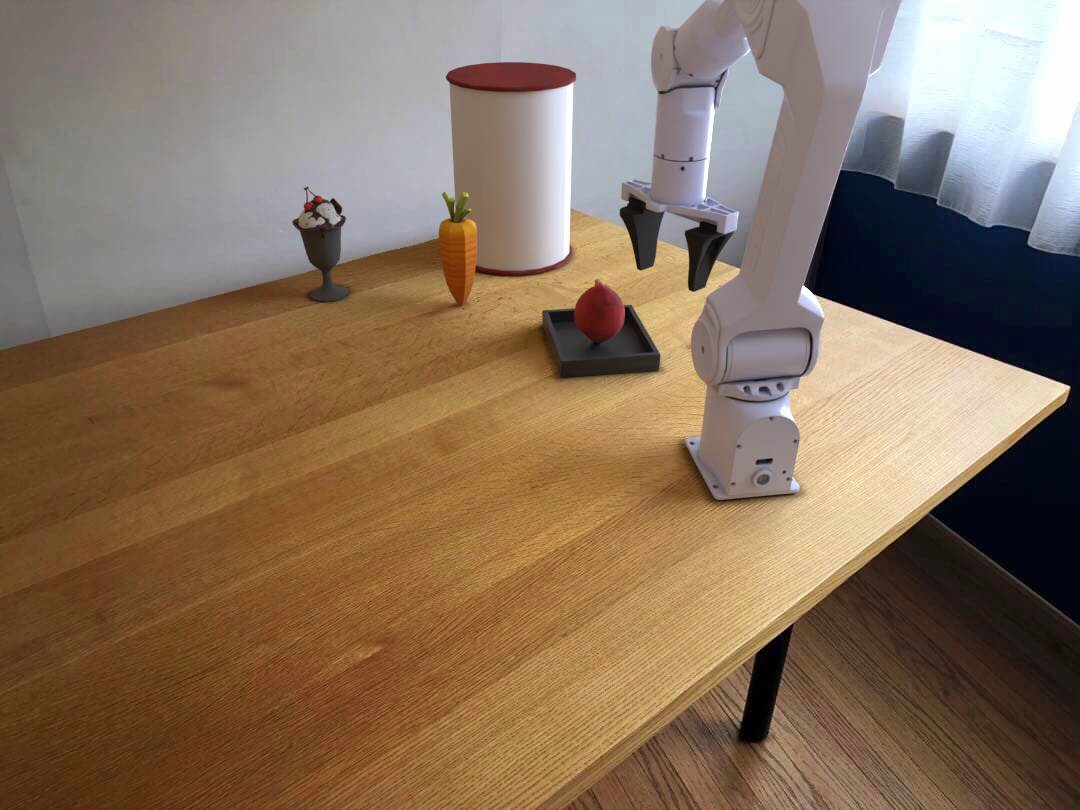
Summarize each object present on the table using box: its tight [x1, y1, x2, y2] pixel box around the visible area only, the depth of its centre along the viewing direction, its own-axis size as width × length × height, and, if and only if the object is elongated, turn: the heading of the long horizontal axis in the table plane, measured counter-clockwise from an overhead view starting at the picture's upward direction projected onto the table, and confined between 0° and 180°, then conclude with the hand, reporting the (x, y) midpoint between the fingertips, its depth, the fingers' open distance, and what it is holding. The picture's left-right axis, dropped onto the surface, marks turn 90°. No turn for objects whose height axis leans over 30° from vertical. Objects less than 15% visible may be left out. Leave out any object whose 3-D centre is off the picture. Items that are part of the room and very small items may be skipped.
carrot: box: [438, 191, 477, 307], centre depth 107 cm, size 5×5×15 cm
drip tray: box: [541, 304, 661, 379], centre depth 101 cm, size 13×11×2 cm
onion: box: [574, 278, 625, 344], centre depth 99 cm, size 6×6×8 cm
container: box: [445, 61, 577, 277], centre depth 120 cm, size 17×17×25 cm
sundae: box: [291, 185, 349, 303], centre depth 110 cm, size 7×7×15 cm
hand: (670, 278), depth 95 cm, fingers open, 7 cm apart
